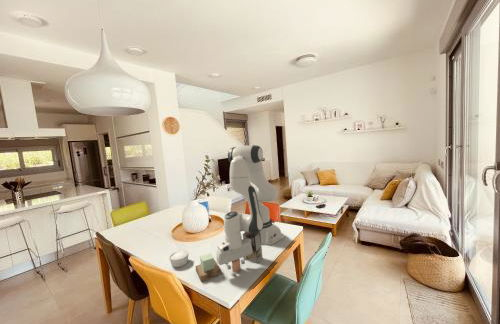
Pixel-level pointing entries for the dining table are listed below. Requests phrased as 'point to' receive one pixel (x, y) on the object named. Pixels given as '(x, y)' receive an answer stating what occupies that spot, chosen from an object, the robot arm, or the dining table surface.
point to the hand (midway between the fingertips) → (236, 266)
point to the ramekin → (179, 258)
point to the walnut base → (208, 272)
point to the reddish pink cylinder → (236, 266)
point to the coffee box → (254, 247)
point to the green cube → (207, 262)
